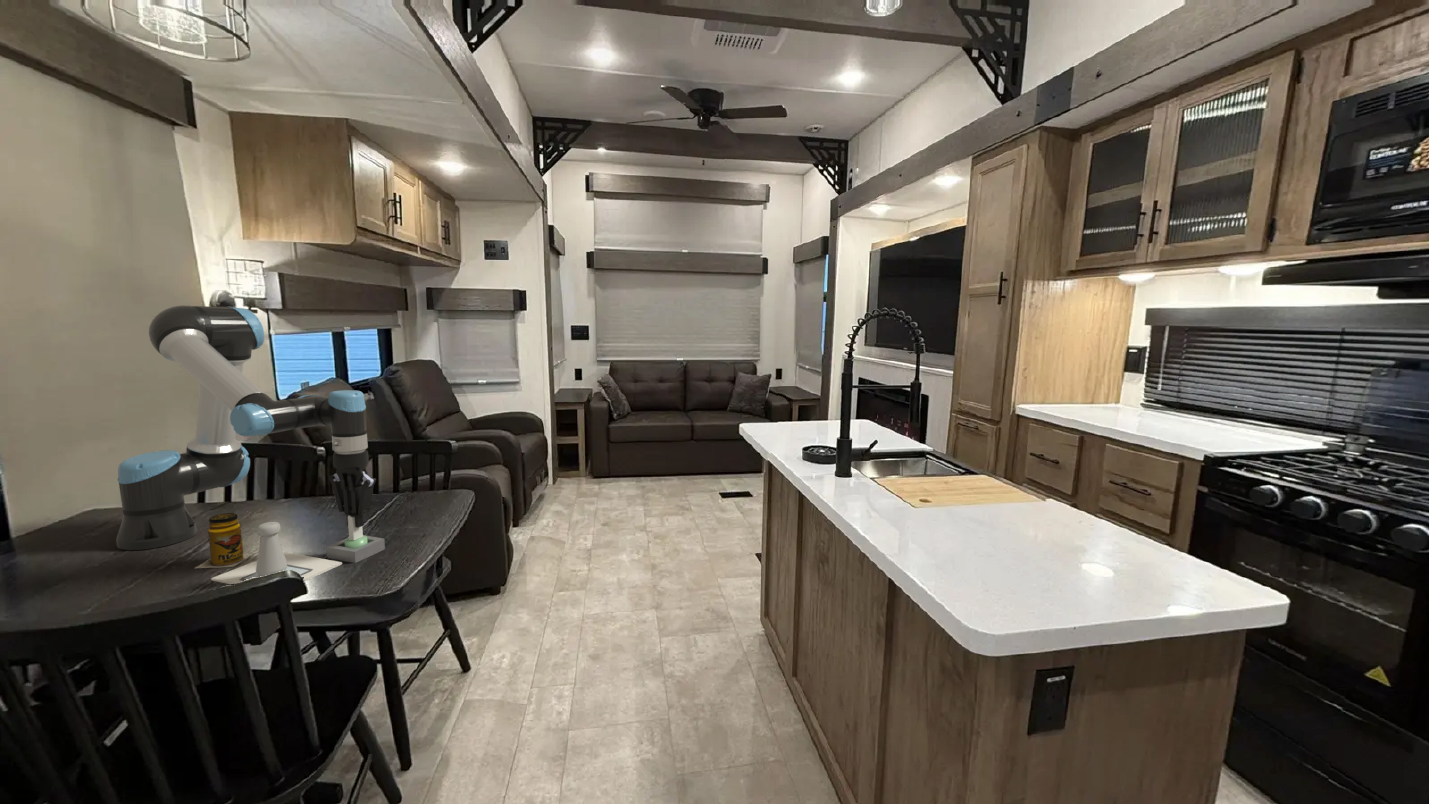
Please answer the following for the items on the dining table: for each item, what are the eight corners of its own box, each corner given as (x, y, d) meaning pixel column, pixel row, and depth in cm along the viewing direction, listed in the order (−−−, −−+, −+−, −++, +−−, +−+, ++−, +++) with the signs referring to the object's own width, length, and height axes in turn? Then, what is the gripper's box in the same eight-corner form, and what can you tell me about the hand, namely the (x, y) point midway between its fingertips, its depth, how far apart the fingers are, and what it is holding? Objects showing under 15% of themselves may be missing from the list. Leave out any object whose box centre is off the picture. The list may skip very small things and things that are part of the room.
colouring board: (211, 580, 126) (210, 577, 126) (281, 553, 142) (281, 550, 142) (277, 594, 121) (276, 591, 121) (342, 564, 137) (342, 561, 137)
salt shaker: (270, 583, 125) (265, 529, 123) (250, 580, 126) (245, 526, 124) (294, 572, 130) (290, 520, 128) (275, 569, 131) (270, 518, 130)
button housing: (327, 558, 140) (326, 547, 139) (358, 544, 148) (357, 534, 148) (355, 563, 138) (354, 551, 137) (384, 549, 146) (384, 538, 146)
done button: (340, 555, 141) (339, 541, 141) (357, 548, 146) (356, 534, 145) (356, 558, 140) (355, 543, 139) (372, 550, 145) (371, 536, 144)
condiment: (234, 566, 133) (230, 520, 132) (193, 569, 131) (188, 522, 130) (252, 554, 140) (248, 510, 139) (213, 556, 138) (209, 511, 137)
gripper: (316, 451, 137) (323, 540, 140) (358, 456, 134) (363, 547, 137) (343, 445, 144) (349, 530, 148) (383, 449, 141) (388, 536, 144)
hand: (356, 538), depth 142 cm, fingers closed
